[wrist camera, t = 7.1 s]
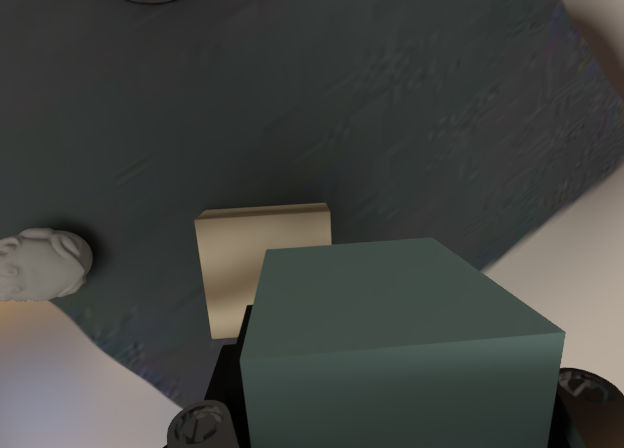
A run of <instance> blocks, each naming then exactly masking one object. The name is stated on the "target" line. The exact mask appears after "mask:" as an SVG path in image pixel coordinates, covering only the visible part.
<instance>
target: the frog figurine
mask: <svg viewBox="0 0 624 448" xmlns="http://www.w3.org/2000/svg"><path fill="white" fill-rule="evenodd" d="M92 261H93V256H92V251H91V248H90V247H89V245H88V244H87V242H86V241H85V240H84V239H82V238H81V237H79V236H78V235H76V234H73V233H71V232H67V231H54V230H53V229H51V228H31V229H27V230H24V231H23V232H21V233H20V234H19V235H18V236H10V237H7V238H4V239H1V240H0V301H9V300H11V299H13V300H15V301H27V300H30V301H45V300H49V299H52V298H55V297H56V296H58V297H63V296H66V295H68V294H72V293H74V292H76V291H77V290H78V289H79V288H80V286H81V285H82V284H85V283H86V277H85V276H86V275H87V274H88V272H89V270H90V269H91V266H92Z"/></svg>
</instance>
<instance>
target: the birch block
mask: <svg viewBox="0 0 624 448" xmlns="http://www.w3.org/2000/svg"><path fill="white" fill-rule="evenodd" d="M194 222H195V228H196V235H197V242H198V248H199V255H200V262H201V268H202V275H203V282H204V288H205V295H206V302H207V309H208V315H209V322H210V329H211V335H212V339H219V338H231V337H238V336H239V332H240V328H241V325H242V321H243V318H244V314H245V310H246V307H247V305H253V303H254V299H255V294H256V290H257V286H258V282H259V278H260V274H261V269H262V265H263V261H264V257H265V253H266V250H267V249H281V248H295V247H309V246H322V245H331V220H330V210H329V208H328V206H327V204H326V203H313V204H297V205H280V206H264V207H248V208H231V209H215V210H205V211H204V212H203V213H202V214H201V215H199V216H198V217H197V218H196V219H195V220H194Z"/></svg>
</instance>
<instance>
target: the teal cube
mask: <svg viewBox="0 0 624 448" xmlns="http://www.w3.org/2000/svg"><path fill="white" fill-rule="evenodd" d="M564 339H565V331H563V330H562V329H560V328H559V327H558V326H556V325H555V324H553V323H552V322H551V321H549V320H548V319H546V318H545V317H543V316H542V315H541V314H539V313H538V312H536V311H535V310H533V309H532V308H531V307H529V306H528V305H526V304H525V303H524V302H522V301H521V300H519V299H518V298H517V297H515V296H514V295H512V294H511V293H510V292H508V291H507V290H505V289H504V288H502V287H501V286H500V285H498V284H497V283H495V282H494V281H493V280H491V279H490V278H488V277H487V276H486V275H484V274H483V273H481V272H480V271H478V270H477V269H476V268H474V267H473V266H471V265H470V264H469V263H467V262H466V261H464V260H463V259H461V258H460V257H459V256H457V255H456V254H454V253H453V252H452V251H450V250H449V249H447V248H446V247H445V246H443V245H442V244H440V243H439V242H437V241H436V240H435V239H433V238H419V239H405V240H391V241H377V242H364V243H350V244H336V245H322V246H309V247H295V248H281V249H267V250H266V253H265V257H264V261H263V265H262V269H261V274H260V278H259V282H258V286H257V290H256V294H255V299H254V303H253V307H252V311H251V315H250V319H249V324H248V328H247V332H246V336H245V340H244V345H243V349H242V353H241V357H240V366H241V374H242V381H243V389H244V396H245V404H246V412H247V419H248V427H249V434H250V442H251V448H547V445H548V439H549V432H550V426H551V420H552V414H553V407H554V401H555V395H556V389H557V383H558V376H559V370H560V364H561V358H562V352H563V345H564Z"/></svg>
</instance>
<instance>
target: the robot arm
mask: <svg viewBox="0 0 624 448" xmlns="http://www.w3.org/2000/svg"><path fill="white" fill-rule="evenodd" d="M131 1H135V2H139V3H161V2H167V1H172V0H131ZM252 307H253V305H247V307H246V310H245V314H244V318H243V321H242V325H241V328H240V332H239V336H238V339H237V343H236V344H231V345H224V346H223V347H222V349H221V352H220V355H219V358H218V360H217V363H216V366H215V369H214V372H213V375H212V378H211V381H210V384H209V387H208V390H207V393H206V396H205V399H204V401H200V402H196V403H194V404H192V405H189V406H187V407H186V408H184V409H183V410H182V411H180V412H179V413H178V414H177V415H176V416H175V417H174V419H173V420H172V422H171V423H170V425H169V427H168V432H167V445H166V446H164V447H163V448H251V442H250V434H249V427H248V419H247V412H246V404H245V396H244V389H243V381H242V374H241V366H240V357H241V353H242V349H243V345H244V340H245V336H246V332H247V328H248V324H249V319H250V315H251V311H252ZM547 448H624V395H623V394H622V392H621V391H620V390H619V389H618V388H617V387H616V386H615V385H613V384H612V383H610V382H609V381H607V380H606V379H604V378H602V377H600V376H598V375H596V374H594V373H590V372H588V371H585V370H581V369H576V368H560V370H559V376H558V383H557V389H556V395H555V401H554V407H553V414H552V420H551V426H550V432H549V439H548V445H547Z"/></svg>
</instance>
